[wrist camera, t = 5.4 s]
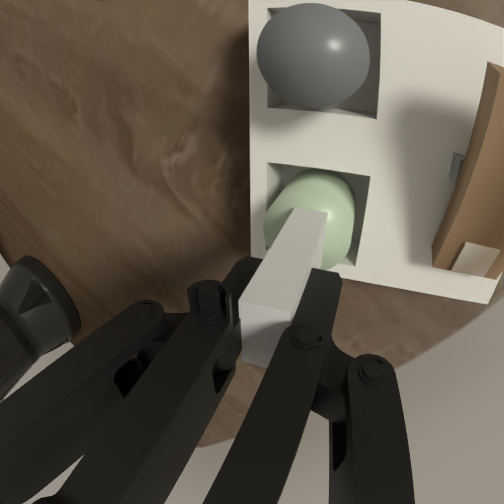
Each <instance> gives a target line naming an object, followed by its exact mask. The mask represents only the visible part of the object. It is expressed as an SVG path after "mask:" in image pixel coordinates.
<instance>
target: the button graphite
mask: <svg viewBox="0 0 504 504" xmlns="http://www.w3.org/2000/svg"><path fill="white" fill-rule="evenodd" d="M256 54H257V62H258V67H259V69H260V72H261V74H262V76H263V78H264V80H265V81H266V83H267V84H268V85H269V86H270V88H271V89H272V90H273V91H275V92H276V93H277V94H278V95H279V96H281V97H282V98H284V99H286V100H288V101H289V102H292V103H294V104H297V105H301V106H305V107H327V106H331V105H334V104H337V103H340V102H342V101H344V100H346V99H347V98H349V97H350V96H351V95H353V94H354V93H355V92H356V91H357V90H358V89H359V88H360V87H361V86H362V84H363V83H364V81H365V79H366V77H367V74H368V70H369V63H370V52H369V46H368V43H367V40H366V37H365V35H364V33H363V32H362V30H361V29H360V27H359V26H358V25H357V24H356V22H355V21H354V20H353V19H352V18H350V17H349V16H348V15H347V14H345V13H344V12H342V11H340V10H338V9H336V8H334V7H331V6H328V5H324V4H320V3H302V4H296V5H293V6H290V7H287V8H285V9H283V10H281V11H280V12H278V13H277V14H275V15H274V16H273V17H272V18H271V19H270V20H269V21H268V22H267V23H266V25H265V26H264V28H263V29H262V31H261V33H260V36H259V39H258V43H257V51H256Z"/></svg>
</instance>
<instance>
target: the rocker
mask: <svg viewBox="0 0 504 504" xmlns="http://www.w3.org/2000/svg"><path fill="white" fill-rule="evenodd" d="M431 248H432V267H434V268H440V269H445V270H450V271H455V272H460V273H465V274H470V275H475V276H479V277H484V278H489V279H494V280H496V279H497V278H498V277H499V275H500V274H501V273H502V271H503V270H504V67H502V66H499V65H497V64H494V63H491V62H488V61H487V67H486V72H485V78H484V83H483V88H482V93H481V98H480V102H479V106H478V111H477V115H476V119H475V123H474V127H473V130H472V134H471V138H470V141H469V145H468V148H467V151H466V155H465V158H464V161H463V164H462V167H461V170H460V173H459V176H458V179H457V182H456V185H455V188H454V191H453V193H452V196H451V199H450V202H449V204H448V207H447V209H446V212H445V215H444V217H443V220H442V222H441V225H440V227H439V229H438V232H437V234H436V236H435V239H434V241H433V243H432V246H431Z"/></svg>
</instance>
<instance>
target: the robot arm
mask: <svg viewBox="0 0 504 504" xmlns="http://www.w3.org/2000/svg"><path fill="white" fill-rule="evenodd" d="M327 217H328V213H327V212H321V211H314V210H308V209H302V208H294V209H293V211H292V213H291V214H290V216H289V218H288V219H287V221H286V223H285V224H284V226H283V228H282V229H281V231H280V233H279V234H278V236H277V238H276V239H275V241H274V243H273V244H272V246H271V248H270V249H269V251H268V253H267V254H266V256H265V258H264V259H260V258H255V257H250V256H246V257H244V258H243V259H241V260H239V261H238V262H236V264H235V265H234V267H233V268H232V269H231V272H229V273H228V275H227V276H226V279H224V280H223V282H219V281H216V280H204V281H199V282H197V283H194V284H192V285H191V286H190V287H189V288H187V292H188V298H189V304H190V311H189V313H164V310H163V306H162V305H161V304H160V303H158V302H156V301H153V300H142V301H138V302H136V303H134V304H132V305H130V306H129V307H127V308H126V309H125V310H123V311H122V312H120V313H119V314H118V315H116V316H115V317H114V318H112V319H111V320H109V321H108V322H107V323H105V324H104V325H103V326H101V327H100V328H98V329H97V330H96V331H94V332H93V333H92V334H90V335H89V336H88V337H86V338H85V339H84V340H82V341H81V342H80V343H78V344H77V345H76V346H74V347H73V348H71V349H70V350H69V351H68V352H66V353H65V354H63V355H62V356H61V357H60V358H58V359H57V360H56V361H54V362H53V363H52V364H50V365H49V366H48V367H46V368H45V369H44V370H42V371H41V372H40V373H38V374H37V375H36V376H35V377H33V378H32V379H31V380H30V381H28V382H27V383H25V384H24V385H23V386H21V387H20V388H19V389H18V390H16V391H15V392H14V393H13V394H11V395H10V396H9V397H8V398H6V399H5V400H4V398H5V396H6V395H7V394H8V393H9V392H10V391H11V389H12V388H13V387H14V386H15V385H16V383H17V382H18V381H19V380H20V379H21V378H22V377H23V376H24V374H25V373H26V372H27V371H28V370H29V369H30V368H31V367H32V365H33V364H34V363H35V362H36V361H37V360H38V359H39V358H40V357H41V356H42V355H44V354H46V353H48V352H50V351H52V350H54V349H56V348H58V347H60V346H62V345H63V344H65V343H68V342H70V341H71V340H73V338H74V337H75V336H76V335H77V334H78V333H79V332H80V330H81V324H80V319H79V316H78V313H77V311H76V309H75V307H74V305H73V303H72V301H71V299H70V298H69V296H68V295H67V293H66V292H65V290H64V289H63V287H62V286H61V284H60V283H59V282H58V281H57V279H56V278H55V277H54V276H53V275H52V273H51V272H50V271H49V270H48V269H47V268H46V267H45V266H44V265H42V264H41V263H40V262H39V261H37V260H36V259H34V258H32V257H30V256H24V257H22V258H21V259H20V260H18V261H17V262H16V263H15V264H14V265H13V266H12V267H11V269H10V270H9V272H8V273H7V275H6V277H5V278H4V280H3V281H2V283H1V285H0V504H22V503H24V502H26V501H27V500H29V499H30V498H32V497H33V496H34V495H35V494H37V493H38V492H40V490H42V489H43V488H44V487H46V486H47V485H48V484H49V483H51V482H52V481H53V480H54V479H55V478H57V477H58V476H59V475H60V474H61V473H63V472H64V471H65V470H66V469H67V468H68V467H70V466H71V465H72V464H73V463H74V462H76V461H77V460H78V459H79V458H80V457H81V456H83V455H84V456H83V457H82V459H81V460H80V461H79V463H78V464H77V466H76V467H75V469H74V470H73V471H72V473H71V474H70V476H69V477H68V478H67V480H66V481H65V483H64V484H63V485H62V487H61V488H60V490H59V491H58V492H57V493H56V494H55V495H53V496H49V497H43V498H40V499H38V500H36V501H35V502H33V503H32V504H164V503H165V501H166V499H167V498H168V496H169V494H170V492H171V491H172V489H173V487H174V485H175V484H176V482H177V480H178V478H179V477H180V475H181V473H182V471H183V470H184V468H185V466H186V464H187V462H188V460H189V459H190V457H191V455H192V453H193V451H194V450H195V448H196V446H197V444H198V442H199V440H200V439H201V437H202V435H203V433H204V431H205V429H206V428H207V426H208V424H209V422H210V420H211V418H212V416H213V414H214V413H215V411H216V409H217V407H218V405H219V403H220V401H221V399H222V397H223V395H224V393H225V392H226V390H227V388H228V386H229V384H230V382H231V380H232V378H233V376H234V374H235V370H236V360H237V358H238V356H239V354H240V352H241V361H243V362H247V363H250V364H254V365H258V366H261V367H265V368H267V370H266V372H265V375H264V377H263V379H262V381H261V384H260V386H259V388H258V390H257V393H256V395H255V397H254V399H253V401H252V404H251V406H250V408H249V410H248V412H247V415H246V417H245V419H244V421H243V423H242V425H241V427H240V430H239V432H238V434H237V436H236V438H235V440H234V442H233V444H232V446H231V448H230V450H229V452H228V455H227V457H226V459H225V461H224V463H223V465H222V467H221V469H220V471H219V473H218V475H217V477H216V479H215V480H214V483H213V484H212V486H211V488H210V490H209V492H208V494H207V496H206V498H205V500H204V502H203V504H277V503H278V501H279V498H280V496H281V493H282V491H283V488H284V486H285V483H286V480H287V477H288V475H289V472H290V469H291V467H292V464H293V461H294V458H295V456H296V453H297V450H298V447H299V444H300V441H301V438H302V435H303V431H304V428H305V426H306V423H307V419H308V416H309V413H310V410H312V411H314V412H315V413H318V414H319V415H321V416H322V417H324V418H326V419H328V420H329V504H415V499H414V488H413V478H412V469H411V461H410V453H409V446H408V439H407V433H406V426H405V421H404V414H403V409H402V403H401V398H400V393H399V388H398V383H397V379H396V373H395V371H394V369H393V366H392V365H391V364H390V363H389V362H388V361H387V360H386V359H384V358H382V357H380V356H378V355H373V354H365V355H360V356H358V357H356V358H353V357H351V356H349V355H347V354H346V353H344V352H342V351H341V350H340V349H339V348H338V347H337V346H336V345H335V343H334V342H333V340H332V336H331V334H332V328H333V324H334V320H335V315H336V311H337V306H338V302H339V297H340V292H341V287H342V280H341V277H340V275H339V273H337V272H332V271H327V270H322V269H320V268H321V265H322V258H323V250H324V242H325V234H326V226H327ZM136 354H137V356H136V357H134V356H135V355H136ZM132 357H134V358H132ZM3 400H4V401H3Z"/></svg>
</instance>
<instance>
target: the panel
mask: <svg viewBox="0 0 504 504" xmlns="http://www.w3.org/2000/svg"><path fill="white" fill-rule="evenodd" d="M302 3H320V4H324V5H328V6H331V7H334V8H336V9H338V10H340V11H342V12H344V13H345V14H347V15H348V16H349V17H350V18H352V19H353V20H354V21H355V22H356V24H357V25H358V26H359V27H360V29H361V30H362V32H363V33H364V35H365V37H366V40H367V43H368V46H369V52H370V63H369V70H368V74H367V77H366V79H365V81H364V83H363V84H362V86H361V87H360V88H359V89H358V90H357V91H356V92H355V93H354V94H353V95H351V96H350V97H349V98H347V99H346V100H344V101H342V102H340V103H337V104H334V105H331V106H327V107H305V106H301V105H297V104H294V103H292V102H289V101H288V100H286V99H284V98H282V97H281V96H279V95H278V94H277V93H276V92H275V91H273V90H272V89H271V88H270V86H269V85H268V84H267V83H266V81H265V80H264V78H263V76H262V74H261V72H260V69H259V67H258V62H257V54H256V51H257V43H258V39H259V36H260V33H261V31H262V29H263V28H264V26H265V25H266V23H267V22H268V21H269V20H270V19H271V18H272V17H273V16H274V15H275V14H277V13H278V12H280V11H281V10H283V9H285V8H287V7H290V6H293V5H296V4H302ZM487 61H488V62H491V63H494V64H497V65H499V66H502V67H504V29H503V28H501V27H498V26H496V25H493V24H490V23H488V22H485V21H482V20H479V19H476V18H473V17H470V16H467V15H464V14H460V13H457V12H454V11H450V10H446V9H443V8H439V7H435V6H430V5H426V4H422V3H417V2H412V1H407V0H249V100H250V207H251V257H255V258H260V259H264V258H265V256H266V254H267V253H268V251H269V247H268V245H267V243H266V241H265V238H264V233H263V223H264V218H265V215H266V213H267V211H268V209H269V208H270V206H271V205H272V204H273V202H274V201H275V200H276V198H277V197H278V196H279V194H280V193H281V192H282V191H283V189H284V188H285V187H286V185H287V184H288V183H289V181H290V180H291V179H292V178H293V177H294V176H295V175H296V174H298V173H299V172H301V171H303V170H306V169H309V168H319V169H327V170H332V171H334V172H336V173H338V174H339V175H341V176H342V177H343V178H344V179H345V180H346V181H347V182H348V183H349V184H350V186H351V188H352V190H353V192H354V195H355V199H356V211H355V218H354V225H353V232H352V239H351V244H350V248H349V250H348V252H347V254H346V256H345V257H344V258H343V260H342V261H341V262H340V263H338V264H337V265H336V266H334V267H332V268H330V269H328V270H327V271H332V272H337V273H339V275H340V277H341V278H347V279H352V280H357V281H363V282H368V283H373V284H379V285H384V286H389V287H395V288H400V289H406V290H411V291H416V292H422V293H427V294H433V295H438V296H444V297H449V298H455V299H460V300H466V301H471V302H477V303H483V304H488V302H489V300H490V298H491V296H492V294H493V292H494V290H495V287H496V285H497V283H498V281H499V279H500V276H501V274H502V273H501V274H500V275H499V277H498V278H497V279H496V280H494V279H489V278H484V277H479V276H475V275H470V274H465V273H460V272H455V271H450V270H445V269H440V268H434V267H432V248H431V246H432V243H433V241H434V239H435V236H436V234H437V232H438V229H439V227H440V225H441V222H442V220H443V217H444V215H445V212H446V209H447V207H448V204H449V202H450V199H451V196H452V193H453V191H454V188H455V185H456V182H457V179H458V176H459V173H460V170H461V167H462V164H463V161H464V158H465V155H466V151H467V148H468V145H469V141H470V138H471V134H472V130H473V127H474V123H475V119H476V115H477V111H478V106H479V102H480V98H481V93H482V88H483V83H484V78H485V72H486V67H487ZM502 272H503V271H502Z"/></svg>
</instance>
